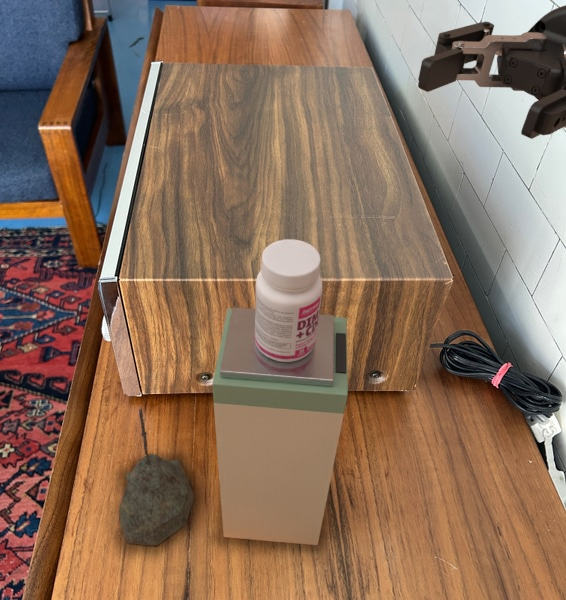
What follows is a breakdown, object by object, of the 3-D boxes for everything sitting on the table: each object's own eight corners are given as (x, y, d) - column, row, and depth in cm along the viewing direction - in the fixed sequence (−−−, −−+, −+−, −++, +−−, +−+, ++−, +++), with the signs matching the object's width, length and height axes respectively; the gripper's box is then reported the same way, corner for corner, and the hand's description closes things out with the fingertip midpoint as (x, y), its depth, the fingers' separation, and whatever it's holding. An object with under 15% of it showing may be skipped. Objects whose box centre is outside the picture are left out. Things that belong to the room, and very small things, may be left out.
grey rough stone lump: (196, 541, 59) (187, 485, 51) (119, 552, 58) (97, 496, 50) (192, 457, 66) (184, 395, 58) (123, 464, 65) (105, 403, 57)
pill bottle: (305, 371, 42) (314, 287, 36) (245, 354, 43) (244, 269, 37) (322, 327, 45) (334, 244, 39) (266, 312, 46) (269, 228, 40)
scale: (343, 336, 49) (347, 310, 46) (344, 414, 43) (349, 388, 41) (228, 327, 49) (227, 301, 47) (213, 403, 43) (211, 377, 41)
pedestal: (319, 476, 65) (343, 336, 49) (317, 545, 59) (344, 414, 43) (233, 468, 65) (228, 327, 49) (223, 537, 60) (213, 403, 43)
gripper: (531, -26, 47) (403, 8, 39) (712, 23, 39) (599, 78, 31) (503, 65, 52) (384, 112, 44) (658, 124, 44) (549, 194, 36)
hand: (473, 98), depth 37 cm, fingers open, 8 cm apart
